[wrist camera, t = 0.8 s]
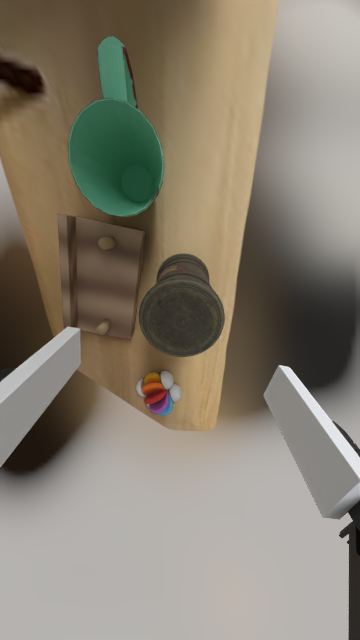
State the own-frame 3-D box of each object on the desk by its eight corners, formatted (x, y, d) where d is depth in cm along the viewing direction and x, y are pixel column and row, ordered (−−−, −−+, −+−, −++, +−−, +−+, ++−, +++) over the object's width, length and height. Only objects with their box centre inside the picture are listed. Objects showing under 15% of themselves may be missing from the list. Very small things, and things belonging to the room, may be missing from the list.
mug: (170, 221, 31) (164, 217, 22) (108, 220, 31) (78, 216, 22) (169, 93, 25) (161, 15, 16) (93, 92, 25) (42, 14, 16)
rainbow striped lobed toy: (166, 362, 43) (163, 386, 36) (185, 392, 46) (185, 419, 40) (134, 375, 45) (125, 400, 38) (154, 403, 48) (149, 430, 41)
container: (215, 263, 34) (245, 294, 17) (197, 308, 37) (207, 369, 21) (166, 245, 33) (148, 260, 16) (151, 294, 36) (125, 346, 20)
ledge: (77, 216, 31) (54, 213, 26) (145, 231, 32) (137, 231, 26) (79, 321, 39) (62, 336, 33) (134, 331, 40) (126, 347, 34)
